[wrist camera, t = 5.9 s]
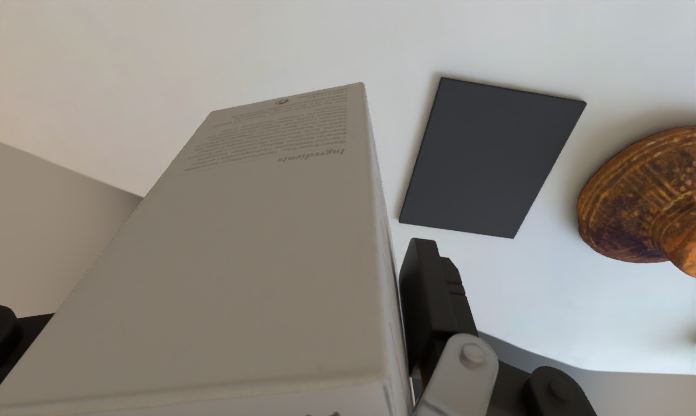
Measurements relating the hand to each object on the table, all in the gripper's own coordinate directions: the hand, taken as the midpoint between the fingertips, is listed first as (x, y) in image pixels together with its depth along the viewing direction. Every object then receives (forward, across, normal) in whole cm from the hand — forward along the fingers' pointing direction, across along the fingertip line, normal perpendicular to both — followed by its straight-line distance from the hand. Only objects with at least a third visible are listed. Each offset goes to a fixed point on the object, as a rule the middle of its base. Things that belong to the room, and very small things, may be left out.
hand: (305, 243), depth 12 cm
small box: (+4, 0, 0) cm, 4 cm away
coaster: (+16, -12, +4) cm, 20 cm away
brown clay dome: (+16, -26, +4) cm, 31 cm away
